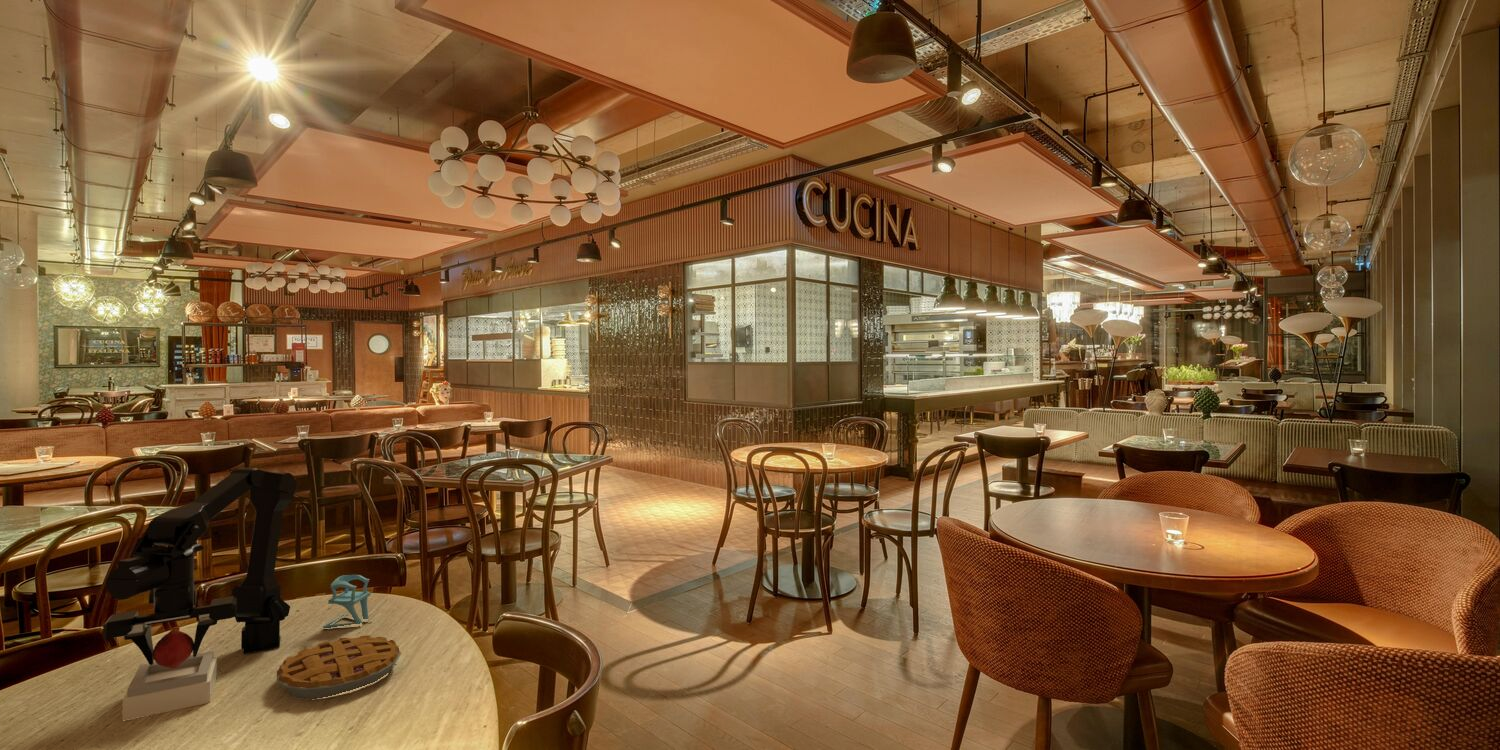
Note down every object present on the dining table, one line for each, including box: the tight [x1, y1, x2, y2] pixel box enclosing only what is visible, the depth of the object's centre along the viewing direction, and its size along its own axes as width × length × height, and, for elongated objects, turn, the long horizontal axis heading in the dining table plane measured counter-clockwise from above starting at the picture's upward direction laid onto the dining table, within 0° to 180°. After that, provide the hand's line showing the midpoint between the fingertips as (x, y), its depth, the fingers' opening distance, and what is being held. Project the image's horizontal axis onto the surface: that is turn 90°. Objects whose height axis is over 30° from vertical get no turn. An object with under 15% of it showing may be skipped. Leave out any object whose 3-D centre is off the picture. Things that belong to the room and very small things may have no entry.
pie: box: [276, 634, 402, 701], centre depth 132 cm, size 22×22×5 cm
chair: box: [322, 574, 371, 629], centre depth 157 cm, size 8×8×12 cm
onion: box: [153, 626, 195, 669], centre depth 122 cm, size 6×6×8 cm
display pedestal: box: [122, 651, 218, 721], centre depth 122 cm, size 12×12×6 cm
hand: (173, 660), depth 122 cm, fingers closed on onion, 6 cm apart
